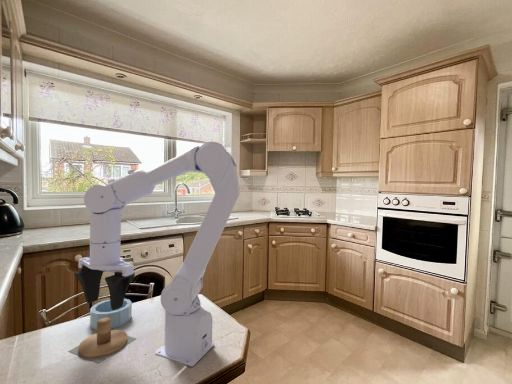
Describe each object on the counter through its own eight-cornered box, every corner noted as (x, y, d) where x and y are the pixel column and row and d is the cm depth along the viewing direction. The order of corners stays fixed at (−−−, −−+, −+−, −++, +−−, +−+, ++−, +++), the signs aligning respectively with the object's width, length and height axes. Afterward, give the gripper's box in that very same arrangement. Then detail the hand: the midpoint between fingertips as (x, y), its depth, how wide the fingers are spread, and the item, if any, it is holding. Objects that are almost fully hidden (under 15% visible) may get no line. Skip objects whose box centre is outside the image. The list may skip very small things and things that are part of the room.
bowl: (138, 317, 68) (138, 301, 68) (107, 334, 59) (107, 316, 59) (114, 310, 71) (114, 296, 71) (81, 326, 63) (82, 309, 63)
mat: (136, 340, 57) (136, 338, 57) (98, 365, 49) (98, 363, 49) (108, 331, 61) (108, 329, 61) (68, 353, 52) (68, 351, 52)
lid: (136, 338, 57) (136, 315, 57) (98, 363, 49) (98, 335, 49) (108, 329, 61) (108, 307, 61) (68, 351, 52) (68, 326, 52)
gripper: (145, 241, 56) (144, 303, 56) (100, 235, 61) (98, 292, 61) (117, 247, 49) (115, 317, 49) (68, 240, 55) (67, 304, 55)
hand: (104, 304), depth 55 cm, fingers open, 7 cm apart
